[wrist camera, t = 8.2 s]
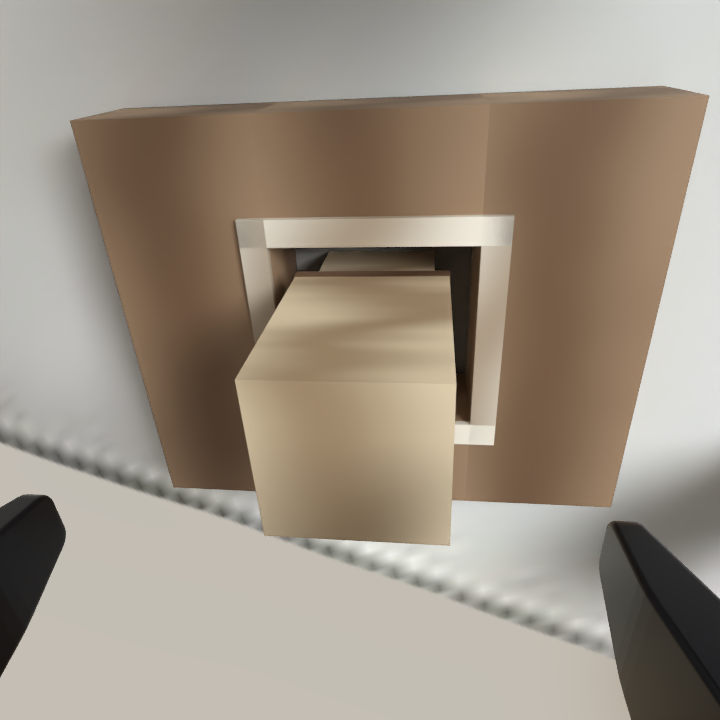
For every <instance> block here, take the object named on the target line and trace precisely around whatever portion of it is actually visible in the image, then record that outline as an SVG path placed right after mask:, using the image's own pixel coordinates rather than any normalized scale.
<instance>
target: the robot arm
mask: <svg viewBox="0 0 720 720" xmlns="http://www.w3.org/2000/svg"><path fill="white" fill-rule="evenodd" d="M65 538H66V531H65V527H64V525H63V523H62V520H61V518H60V516H59V514H58V511H57V509H56V507H55V505H54V502H53V501H52V499H51V498H50V497H48V496H46V495H32V494H31V495H30V494H27V495H22V496H20V497H18V498H16V499H14V500H13V501H11V502H9V503H7V504H5V505H4V506H2V507H1V508H0V677H1V675H2V673H3V671H4V669H5V668H6V666H7V664H8V662H9V660H10V659H11V657H12V655H13V653H14V652H15V650H16V648H17V646H18V644H19V642H20V640H21V638H22V636H23V635H24V633H25V631H26V629H27V627H28V625H29V622H30V620H31V618H32V616H33V614H34V612H35V609H36V607H37V605H38V602H39V600H40V598H41V596H42V593H43V591H44V589H45V586H46V584H47V582H48V579H49V577H50V575H51V573H52V571H53V568H54V566H55V564H56V561H57V559H58V557H59V554H60V552H61V550H62V548H63V545H64V542H65ZM599 570H600V578H601V583H602V589H603V594H604V600H605V605H606V610H607V616H608V621H609V627H610V632H611V638H612V643H613V649H614V654H615V659H616V664H617V669H618V674H619V679H620V682H621V686H622V690H623V693H624V697H625V700H626V704H627V707H628V710H629V714H630V717H631V720H720V599H719V598H718V597H717V596H716V595H715V594H714V593H713V592H712V591H711V590H710V589H709V588H708V587H707V586H706V585H705V584H704V583H703V582H702V581H700V580H699V579H698V578H697V577H696V576H695V575H694V574H693V573H692V572H691V571H690V570H689V569H688V568H687V567H686V566H685V565H684V564H683V563H682V562H681V561H679V560H678V559H677V558H676V557H675V556H674V555H673V554H672V553H671V552H670V551H669V550H668V549H667V548H666V547H665V546H664V545H663V544H662V543H661V542H660V541H658V540H657V539H656V538H655V537H654V536H653V535H652V534H651V533H650V532H649V531H648V530H647V529H646V528H645V527H644V526H643V525H641V524H639V523H637V522H623V521H613V522H610V523H609V525H608V526H607V529H606V533H605V538H604V542H603V546H602V550H601V555H600V560H599Z"/></svg>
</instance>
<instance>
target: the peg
mask: <svg viewBox="0 0 720 720" xmlns="http://www.w3.org/2000/svg"><path fill="white" fill-rule="evenodd" d="M235 384H236V389H237V394H238V400H239V405H240V410H241V415H242V421H243V426H244V431H245V436H246V442H247V447H248V452H249V457H250V463H251V468H252V473H253V478H254V483H255V489H256V494H257V499H258V504H259V510H260V515H261V520H262V525H263V531H264V536H281V537H299V538H318V539H336V540H355V541H373V542H392V543H410V544H429V545H447V546H450V530H451V506H452V482H453V457H454V433H455V409H456V368H455V352H454V337H453V321H452V305H451V290H450V270H441V271H435V250H414V251H329V252H328V254H327V256H326V258H325V260H324V262H323V264H322V266H321V268H320V270H319V271H298V272H296V274H295V276H294V279H293V281H292V283H291V285H290V286H289V288H288V290H287V291H286V293H285V295H284V297H283V298H282V300H281V302H280V303H279V305H278V307H277V308H276V310H275V312H274V314H273V315H272V317H271V319H270V320H269V322H268V324H267V326H266V327H265V329H264V331H263V332H262V334H261V336H260V338H259V339H258V341H257V343H256V344H255V346H254V348H253V350H252V351H251V353H250V355H249V356H248V358H247V360H246V362H245V363H244V365H243V367H242V368H241V370H240V372H239V373H238V375H237V377H236V379H235Z"/></svg>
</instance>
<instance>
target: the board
mask: <svg viewBox="0 0 720 720" xmlns="http://www.w3.org/2000/svg"><path fill="white" fill-rule="evenodd" d="M708 99H709V95H704V94H700V93H695V92H690V91H685V90H680V89H675V88H671V87H666V86H652V87H628V88H604V89H580V90H556V91H532V92H508V93H484V94H461V95H437V96H413V97H389V98H365V99H341V100H317V101H293V102H269V103H245V104H221V105H198V106H174V107H150V108H126V109H120V110H115V111H111V112H106V113H102V114H98V115H93V116H89V117H84V118H80V119H76V120H71V121H70V122H71V126H72V129H73V133H74V137H75V140H76V144H77V147H78V151H79V154H80V158H81V161H82V165H83V168H84V172H85V175H86V179H87V183H88V186H89V190H90V193H91V197H92V200H93V204H94V207H95V211H96V214H97V218H98V222H99V225H100V229H101V232H102V236H103V239H104V243H105V246H106V250H107V253H108V257H109V260H110V264H111V268H112V271H113V275H114V278H115V282H116V285H117V289H118V292H119V296H120V299H121V303H122V306H123V310H124V314H125V317H126V321H127V324H128V328H129V331H130V335H131V338H132V342H133V345H134V349H135V353H136V356H137V360H138V363H139V367H140V370H141V374H142V377H143V381H144V384H145V388H146V391H147V395H148V399H149V402H150V406H151V409H152V413H153V416H154V420H155V423H156V427H157V430H158V434H159V437H160V441H161V445H162V448H163V452H164V455H165V459H166V462H167V466H168V469H169V473H170V476H171V480H172V484H173V487H178V488H200V489H222V490H244V491H256V489H255V483H254V478H253V473H252V468H251V463H250V457H249V452H248V447H247V442H246V436H245V431H244V426H243V421H242V415H241V410H240V405H239V400H238V394H237V389H236V384H235V379H236V377H237V375H238V373H239V372H240V370H241V368H242V367H243V365H244V363H245V362H246V360H247V358H248V356H249V355H250V353H251V351H252V350H253V348H254V346H255V344H256V343H257V341H258V339H259V338H260V336H261V334H262V332H263V331H264V329H265V327H266V326H267V324H268V322H269V320H270V319H271V317H272V315H273V314H274V312H275V310H276V308H277V307H278V305H279V303H280V302H281V300H282V298H283V297H284V295H285V293H286V291H287V290H288V288H289V286H290V285H291V283H292V281H293V279H294V276H295V274H296V272H297V263H296V254H295V248H329V247H439V246H472V263H471V281H470V300H469V318H468V336H467V354H466V373H465V374H456V409H455V433H454V457H453V482H452V500H464V501H485V502H507V503H529V504H551V505H573V506H595V507H611V504H612V500H613V496H614V492H615V488H616V483H617V479H618V475H619V471H620V467H621V463H622V458H623V454H624V450H625V446H626V442H627V437H628V433H629V429H630V425H631V421H632V417H633V412H634V408H635V404H636V400H637V396H638V392H639V387H640V383H641V379H642V375H643V371H644V366H645V362H646V358H647V354H648V350H649V346H650V341H651V337H652V333H653V329H654V325H655V320H656V316H657V312H658V308H659V304H660V300H661V295H662V291H663V287H664V283H665V279H666V275H667V270H668V266H669V262H670V258H671V254H672V249H673V245H674V241H675V237H676V233H677V229H678V224H679V220H680V216H681V212H682V208H683V203H684V199H685V195H686V191H687V187H688V183H689V178H690V174H691V170H692V166H693V162H694V158H695V153H696V149H697V145H698V141H699V137H700V132H701V128H702V124H703V120H704V116H705V112H706V107H707V103H708Z"/></svg>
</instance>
